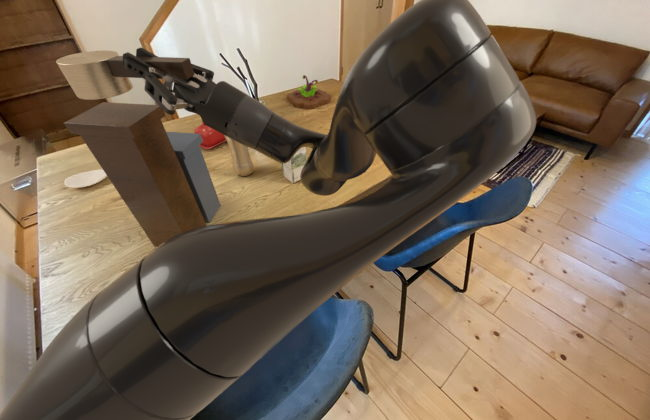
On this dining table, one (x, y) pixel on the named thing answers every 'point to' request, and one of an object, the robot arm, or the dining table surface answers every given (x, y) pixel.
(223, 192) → the dining table surface
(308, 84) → the plant
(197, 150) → the blue-grey block
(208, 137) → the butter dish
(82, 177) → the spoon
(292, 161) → the syrup box
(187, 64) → the milk pan
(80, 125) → the tall stand
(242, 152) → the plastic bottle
